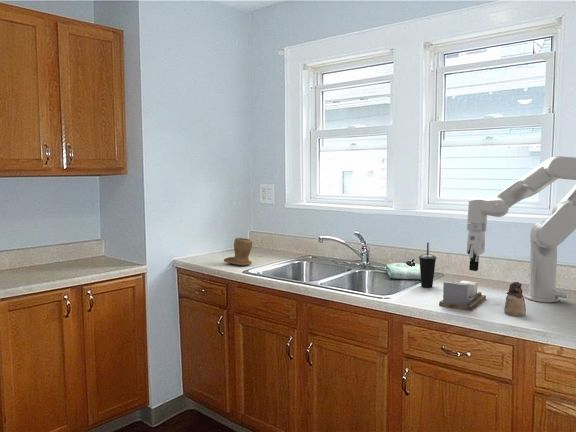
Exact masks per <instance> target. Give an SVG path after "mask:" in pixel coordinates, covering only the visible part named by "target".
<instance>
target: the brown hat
mask: <svg viewBox="0 0 576 432" xmlns="http://www.w3.org/2000/svg"><path fill="white" fill-rule="evenodd" d="M233 242H234V243H233V249H234V256H230V257H226V258H224V259H223V262H224V263H227V264H231V265H237V266H249V265H252V263H253V262H252V261H251V260H250V259H249V256H250V253H251V251H252V248H253V241H252V239H249V238H245V237H244V238H243V237H236V238H234V241H233Z"/></svg>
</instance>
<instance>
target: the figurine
mask: <svg viewBox="0 0 576 432" xmlns="http://www.w3.org/2000/svg"><path fill="white" fill-rule="evenodd" d="M503 309H504V310H503V313H504V314H505V315H507V316H510V317H518V318H519V317H520V318H521V317H525V316H526V314H527V309H526V298H525V297H524V295H523V288H522V283H521V282H519V281H514V282H511V283H510V284H509V288H508V291H507V292H506V297H505V304H504V308H503Z"/></svg>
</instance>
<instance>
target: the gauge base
mask: <svg viewBox="0 0 576 432" xmlns="http://www.w3.org/2000/svg"><path fill="white" fill-rule="evenodd" d="M486 298H487V295H484V294H482V292H481V291H477V294H476V295H474V296H473V297H469V305H468V306H461V305H455V304H449V303H443V299H442V300H440V301H439V302H438V305H439V306H440V307H444V308H451V309H456V310H461V311H463V310H464V311H469V312H472V311H473V310H474V309H475V308H477V307H478V306H479V305H480V304H482V303H483V302H484V301H486ZM439 306H438V307H439Z"/></svg>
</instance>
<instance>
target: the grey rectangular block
mask: <svg viewBox="0 0 576 432" xmlns="http://www.w3.org/2000/svg"><path fill="white" fill-rule="evenodd" d="M459 282H460V281H459ZM459 282H457V281H451V280H450V281H449V280H445V281H443V288H442V291H443V293H442V294H443V295H442V300H443V303H449V304H455V305H461V306H468V305H469V297H470V284H466V283H459Z"/></svg>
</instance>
